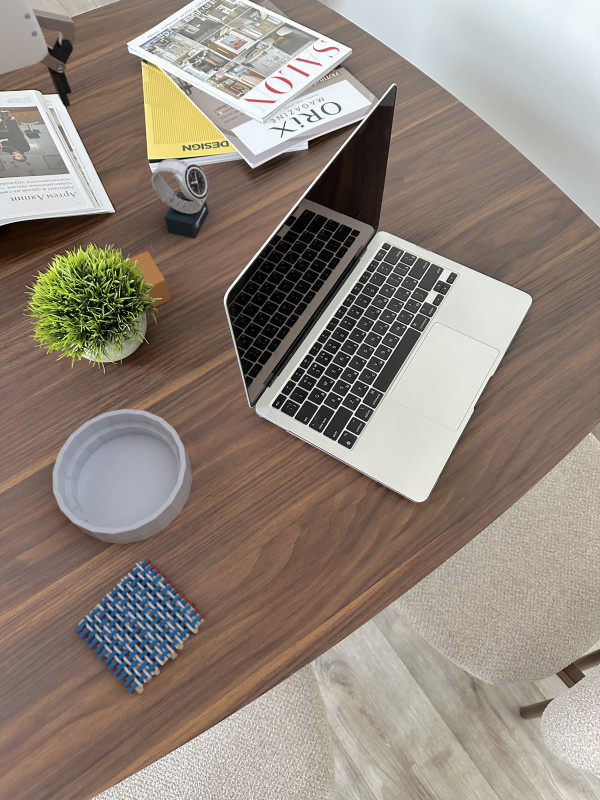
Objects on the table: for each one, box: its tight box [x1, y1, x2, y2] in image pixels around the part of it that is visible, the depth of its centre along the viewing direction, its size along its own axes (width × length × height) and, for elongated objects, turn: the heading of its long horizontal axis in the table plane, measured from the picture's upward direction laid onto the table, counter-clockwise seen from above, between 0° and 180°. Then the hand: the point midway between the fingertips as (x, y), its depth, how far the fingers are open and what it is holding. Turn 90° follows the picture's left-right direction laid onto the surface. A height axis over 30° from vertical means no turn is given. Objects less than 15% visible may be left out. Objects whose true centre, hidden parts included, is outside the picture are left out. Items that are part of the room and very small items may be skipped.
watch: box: [150, 158, 210, 239], centre depth 91 cm, size 6×8×11 cm
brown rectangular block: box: [129, 250, 173, 309], centre depth 89 cm, size 3×8×4 cm, turn 30°
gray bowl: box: [52, 408, 193, 545], centre depth 74 cm, size 15×15×5 cm
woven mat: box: [75, 558, 205, 695], centre depth 68 cm, size 10×11×2 cm
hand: (24, 112), depth 73 cm, fingers open, 9 cm apart
